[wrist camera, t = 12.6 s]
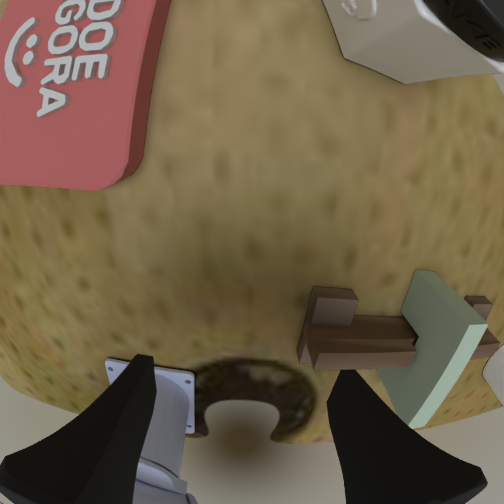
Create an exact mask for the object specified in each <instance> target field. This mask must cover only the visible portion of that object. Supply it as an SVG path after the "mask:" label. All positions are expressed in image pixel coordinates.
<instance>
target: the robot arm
mask: <svg viewBox="0 0 504 504" xmlns="http://www.w3.org/2000/svg"><path fill="white" fill-rule="evenodd" d="M105 366H106V370H107V375H108V378H109V382H110V386H109V387H108V388H107V389H106V390H105V391H104V392H103V393H102V394H101V395H100V396H99V397H98V398H97V399H96V400H95V401H94V402H93V403H92V404H91V405H90V406H89V407H88V408H86V409H85V410H84V411H83V412H82V413H81V414H79V416H77V417H76V418H75V419H73V420H72V421H71V422H69V423H68V424H66V425H65V426H64V427H62V428H61V429H59V430H58V431H56V432H55V433H53V434H51V435H50V436H48V437H46V438H44V439H43V440H41V441H39V442H37V443H35V444H33V445H31V446H29V447H27V448H25V449H22V450H20V451H17V452H15V453H13V454H10V455H7V456H5V458H4V459H3V461H2V463H1V465H0V492H1V493H2V494H3V495H4V496H5V497H7V498H8V499H9V500H10V501H12V502H13V503H14V504H198V503H197V501H196V499H195V497H194V496H193V495H191V494H189V493H186V489H187V482H186V481H183V480H181V479H180V471H181V463H182V455H183V448H184V440H185V433H189V434H192V433H194V431H195V416H194V374H193V373H192V372H190V371H183V370H175V369H168V368H161V367H155V366H154V361H153V356H147V355H140V354H137V355H136V356H135V357H134V358H133V359H132V360H131V362H125V361H120V360H115V359H110V358H108V359H106V361H105ZM188 380H190V381H188ZM327 410H328V417H329V424H330V428H331V432H332V435H333V439H334V443H335V446H336V450H337V454H338V457H339V461H340V465H341V469H342V473H343V479H344V487H345V496H346V504H465V503H466V502H468V501H469V500H470V499H472V498H473V497H475V496H476V495H477V494H478V493H480V492H481V491H482V490H483V489H484V488H485V487H486V486H487V484H488V482H487V480H486V478H485V476H484V474H483V472H482V470H481V468H480V467H478V466H475V465H472V464H470V463H467V462H465V461H462V460H460V459H458V458H456V457H454V456H452V455H450V454H448V453H446V452H445V451H443V450H441V449H439V448H438V447H436V446H435V445H433V444H432V443H430V442H429V441H427V440H426V439H424V438H423V437H421V436H420V435H419V434H418V433H417V432H415V431H414V430H413V429H412V428H410V427H409V426H408V425H407V424H406V423H405V422H403V421H402V420H401V419H400V418H399V417H398V416H397V415H396V414H395V413H394V412H393V411H392V410H391V409H390V408H389V407H388V406H387V405H386V404H385V403H384V402H383V401H382V399H381V398H380V397H379V396H378V395H377V394H376V393H375V392H374V391H373V389H372V388H371V387H370V386H369V385H368V384H367V383H366V381H365V380H364V379H363V378H362V377H361V376H360V375H359V374H358V372H357V371H356V370H355V369H350V370H340V373H339V375H338V378H337V380H336V382H335V385H334V387H333V389H332V391H331V394H330V396H329V398H328V400H327ZM0 504H3V503H2V502H0Z"/></svg>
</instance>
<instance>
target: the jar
mask: <svg viewBox="0 0 504 504" xmlns="http://www.w3.org/2000/svg"><path fill="white" fill-rule="evenodd" d="M323 2H324V5H325V7H326V10H327V12H328V15H329V18H330V20H331V23H332V25H333V28H334V31H335V34H336V37H337V39H338V42H339V45H340V48H341V51H342V54H343V57H344V58H345V59H348V60H350V61H353V62H355V63H358V64H360V65H363V66H365V67H368V68H370V69H373V70H375V71H377V72H379V73H382V74H384V75H386V76H388V77H391V78H393V79H395V80H397V81H399V82H401V83H403V84H412V83H418V82H424V81H430V80H437V79H445V78H453V77H462V76H471V75H483V74H497V73H504V0H323Z"/></svg>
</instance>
